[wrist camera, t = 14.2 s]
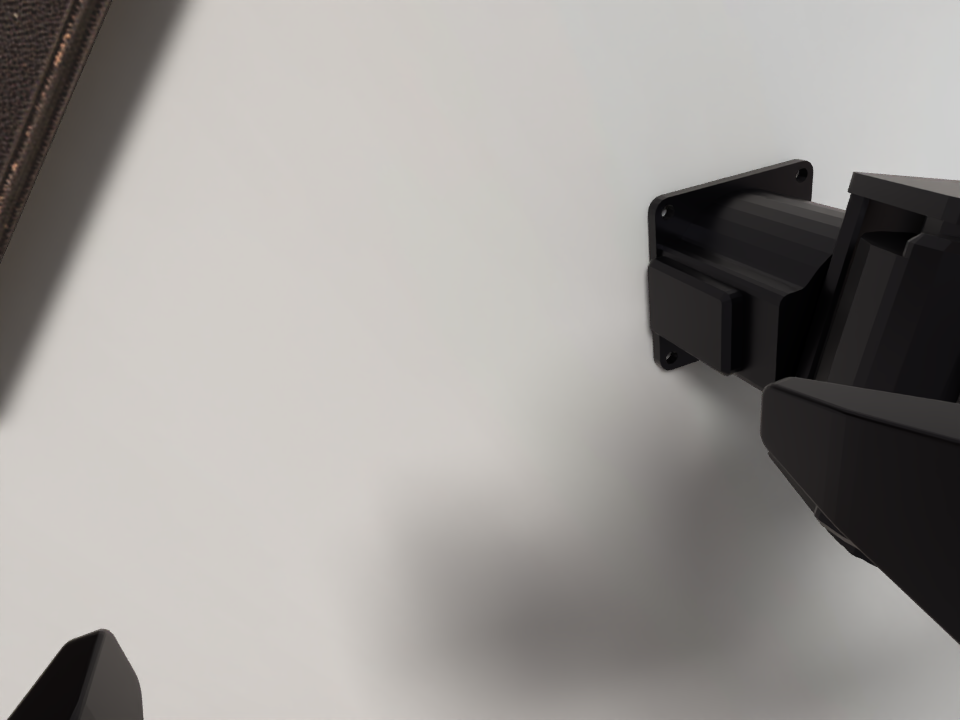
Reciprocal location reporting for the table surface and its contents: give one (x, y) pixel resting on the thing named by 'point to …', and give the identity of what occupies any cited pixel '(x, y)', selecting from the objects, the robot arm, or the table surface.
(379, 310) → the table surface
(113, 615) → the table surface
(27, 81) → the hardcover book
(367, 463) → the table surface
